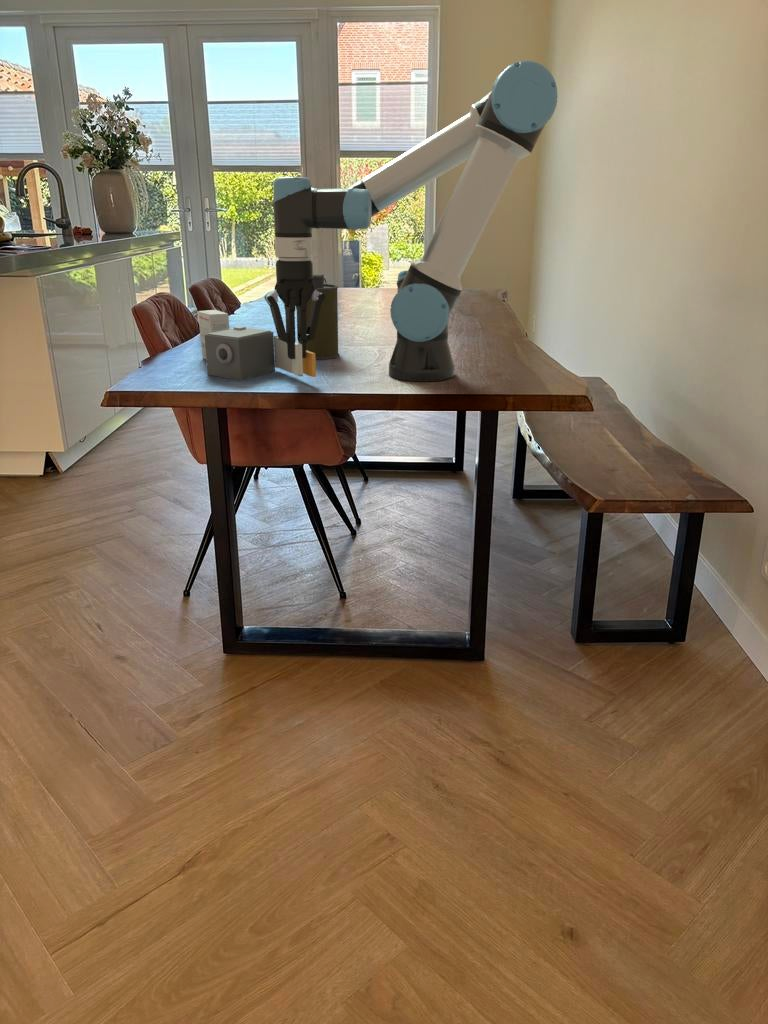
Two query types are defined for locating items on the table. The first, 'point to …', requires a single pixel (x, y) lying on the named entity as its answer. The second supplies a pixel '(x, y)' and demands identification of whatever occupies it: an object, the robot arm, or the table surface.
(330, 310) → the canister
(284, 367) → the side door
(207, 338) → the camera body
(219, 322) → the ink box
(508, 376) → the table surface
